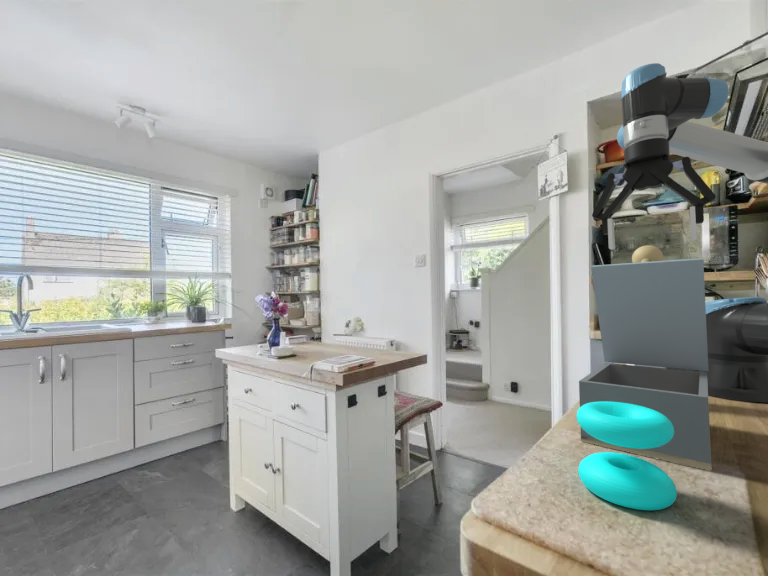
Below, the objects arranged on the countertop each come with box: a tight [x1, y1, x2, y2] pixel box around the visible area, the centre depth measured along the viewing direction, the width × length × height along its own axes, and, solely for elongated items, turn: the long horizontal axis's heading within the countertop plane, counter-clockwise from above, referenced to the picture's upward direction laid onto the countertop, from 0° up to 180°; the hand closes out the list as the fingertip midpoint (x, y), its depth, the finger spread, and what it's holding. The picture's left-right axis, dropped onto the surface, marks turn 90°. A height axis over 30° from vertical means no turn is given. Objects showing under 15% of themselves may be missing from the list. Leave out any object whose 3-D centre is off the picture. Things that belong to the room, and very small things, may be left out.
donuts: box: [576, 401, 678, 511], centre depth 44 cm, size 10×10×10 cm
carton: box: [578, 362, 713, 471], centre depth 62 cm, size 22×16×10 cm
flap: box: [590, 244, 708, 371], centre depth 71 cm, size 22×16×10 cm
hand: (650, 245), depth 73 cm, fingers open, 13 cm apart
